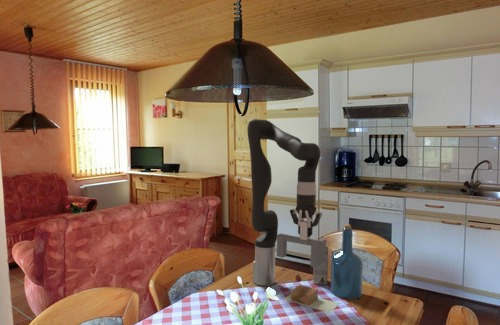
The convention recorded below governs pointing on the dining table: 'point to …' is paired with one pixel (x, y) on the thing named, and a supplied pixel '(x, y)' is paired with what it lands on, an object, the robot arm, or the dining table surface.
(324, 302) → the sage mat
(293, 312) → the dining table surface
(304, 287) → the walnut block
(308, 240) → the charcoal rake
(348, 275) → the wine bottle
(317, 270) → the coffee box
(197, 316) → the dining table surface
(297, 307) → the dining table surface
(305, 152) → the robot arm
